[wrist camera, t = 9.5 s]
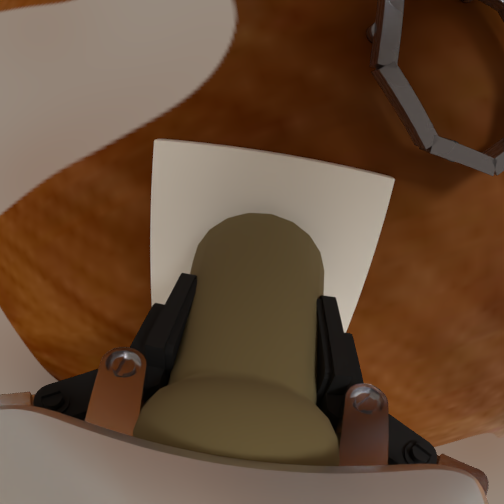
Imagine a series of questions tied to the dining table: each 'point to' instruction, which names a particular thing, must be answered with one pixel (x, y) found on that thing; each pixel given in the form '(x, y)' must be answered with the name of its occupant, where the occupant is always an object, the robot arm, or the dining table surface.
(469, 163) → the ring stand
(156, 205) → the plate
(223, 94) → the dining table surface
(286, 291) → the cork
